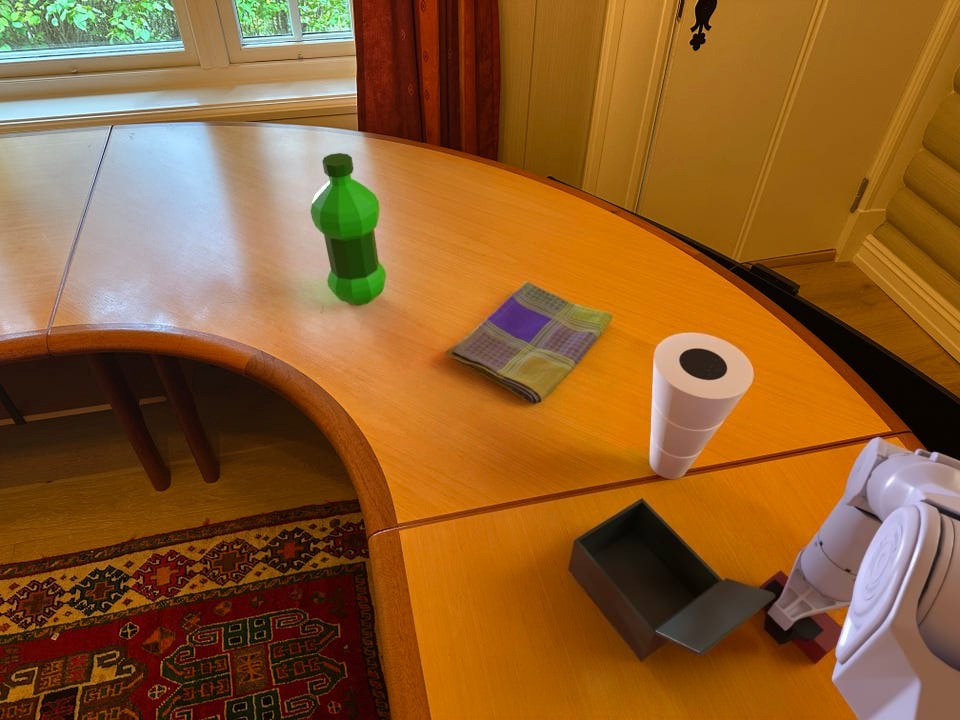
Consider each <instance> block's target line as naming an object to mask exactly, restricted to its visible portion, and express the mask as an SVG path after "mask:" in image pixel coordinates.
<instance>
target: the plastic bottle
mask: <svg viewBox="0 0 960 720" xmlns="http://www.w3.org/2000/svg"><path fill="white" fill-rule="evenodd" d="M322 167H323V172H324V174H325V175H326V176H328V181H327V183H325V184H324V185H323V186H322V187H321V188H320V189H319V191H317V192H316V193H315V195H314V198H313V200H312V203H311V208H310V216H311V220H312V223H313V224H314V226H315V228H316V229H317V230H319V232H320V233H322V234H323V237H324V242H325V247H326V252H327V257H328V261H329V267H330V269H329V273H328V277H327V286H328V288H329V290H330V291H331V292H332V293H333V294H334V295H335V297H337V299H338V300H339V301H341V302H344V303H348V304H349V305H351V306H357V307H358V306H364V305H368V304H370V303H371V302H372V301H374V300H375V299H376V298H377V297H378V296H380V295H381V294H382V293H383V291H384V288H385V283H386V279H387V274H386V269H385V268H384V266H383V264H381V262H380V261H379V255H378V249H377V241H376V233H375V229H376V228H377V225H378V221H379V217H380V201H379V199H378V197H377V196H376V194H375V193H374V192H373V191H371V190H370V189H369V187H367V186H365V185H363V184H362V183H361V182H359V181H357V180H355V179H353V178H352V174H353V173H354V163H353V157H352V156H351V155H349V154H348V153H341V152H337V153H331V154H328V155H326V156H325V157H323V158H322Z"/></svg>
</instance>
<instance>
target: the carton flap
mask: <svg viewBox="0 0 960 720" xmlns="http://www.w3.org/2000/svg"><path fill="white" fill-rule="evenodd" d="M722 580H723V581H722V582H720V583H719V584H718V585H716V586H715V587H713V588H712V589H711V590H709V591H708V592H707V593H705V594H704V595H703V596H701V597H700V598H699V599H697V600H696V601H695V602H693V603H692V604H691V605H689V606H688V607H687V608H685V609H684V610H683V611H681V612H680V613H678V614H677V615H676V616H674V617H673V618H672V619H670V620H669V621H668V622H666V623H665V624H664V625H662V626H661V627H660V628H658V629H657V630H656V634H657V635H659V636H661V637H663V638H665V639H667V640H669V641H668V642H670V643H671V642H672V643H673V644H675V645H678V646H679V647H681V648H683V649H684V650H687V651H689V652H691V653H693V654H696V656H699V657H703V656H704V655H705V654H706V653H707V652H709V651H710V650H711V649H713V648H714V647H715V646H716V645H718V644H719V643H720V642H722V641H723V640H724V639H725V638H726V637H728V636H729V635H730V634H732V633H733V632H734V631H735V630H736V629H738V628H739V627H741V626H742V625H743V624H744V623H745V622H747V621H748V620H749V619H750V618H752V617H753V616H754V615H755V614H757V613H758V612H759V611H760V610H761V608H763V607H764V606H765V605H766V604H768V603H769V602H770V601H771V600H773V599H774V598H775V597H776V596H775V593H772V592H769V591H766V590H763V589H760V588H759V587H756V586H753V585H750V584H746V583H744V582H740V581H737V580H734V579H731V578H728V577H726V578H724V579H722Z"/></svg>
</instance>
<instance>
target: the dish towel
mask: <svg viewBox="0 0 960 720" xmlns="http://www.w3.org/2000/svg"><path fill="white" fill-rule="evenodd" d="M612 319H613V313H611V312H609V311H603V310H600V309H595V308H590V307H587V306H582V305H580V304H576V303H573V302H570V301H569V300H566V299H565V298H563V297H560V296H559V295H556V294H554V293H552V292H549V291H547V290H545V289H544V288H541V287H539V286H537V285H535V284H534V283H531V282H530V281H525V282H524V283H523V284H522V285H521V286H520V287H519V288H518V289H517V290H515V292H513V293H512V294H511V295H510V296H509V297H508V298H507V299H506V300H505V301H504V302H503V303H502V304H501V305H500V306H499V307H498V308H497V309H496V310H495V311H494V312H493V313H491V314H490V315H489V316H488V317H487V318H485V320H484V321H483V322H482V323H481V324H479V325H478V326H477V327H475V328H474V329H473V330H472V331H471V332H470V333H469V334H468V335H467V336H465V337H463V338H462V339H461V340H460V341H459V342H457V343H456V344H454V345H452V346H451V347H450V348H448V349H447V350H446V351H445V353H444V354H445V356H446V357H448V358H451V359H452V360H454V361H456V362H458V363H460V364H461V365H464V366H466V367H468V368H470V369H472V370H473V371H475V372H477V373H479V374H481V375H483V376H484V377H486V378H487V379H489V380H491V381H492V382H494V383H495V384H497V385H498V386H500V387H502V388H504V389H505V390H507V391H509V392H510V393H512V394H514V395H516V396H518V397H519V398H521V399H522V400H524V401H525V402H528V403H530V404H537V403H542V401H543V400H545V398H546V397H547V396H549V394H551V393H552V392H553V391H554V390H555V389H556V388H557V386H558V385H559V384H561V382H562V381H563V380H564V379H565V378H566V377H567V375H569V373H570V372H572V371H573V370H574V369H575V367H576V366H577V365H578V363H580V361H581V360H582V358H583V357H584V356H585V355H586V354H587V352H588V350H590V349H591V347H592V346H593V345H594V343H595V342H597V340H598V338H599V337H600V336H601V335H602V334H603V332H604V331H605V329H606V328H607V326H608V325H609V323H610V322H611V321H612Z"/></svg>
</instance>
